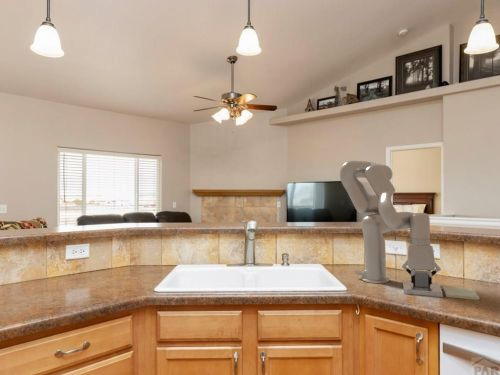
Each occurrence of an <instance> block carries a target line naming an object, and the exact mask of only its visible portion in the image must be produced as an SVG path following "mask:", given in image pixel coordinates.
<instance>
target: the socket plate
mask: <svg viewBox="0 0 500 375" xmlns="http://www.w3.org/2000/svg"><path fill="white" fill-rule="evenodd" d="M402 287H403V289H402V290H403V294H404V295H414V296H424V297H437V298H443V289H442V288H441V286H440V284H439V282H432V284H430V287H429V288H417V287H415V286H413V283H411V280H402Z"/></svg>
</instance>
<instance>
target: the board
mask: <svg viewBox="0 0 500 375" xmlns="http://www.w3.org/2000/svg"><path fill="white" fill-rule="evenodd" d="M442 291H443V292H444V294H445V297H446V298H452V299H453V298H455V299H463V300H464V299H465V300H474V301H475V300H476V301H480V296H479V294H478V293H477V292H476V291H475V290H474V288H466V287H455V286H454V287H453V286H442Z"/></svg>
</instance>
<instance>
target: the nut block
mask: <svg viewBox="0 0 500 375" xmlns="http://www.w3.org/2000/svg"><path fill="white" fill-rule="evenodd" d="M414 275H415V287H417V288H429V284H428V271H427V270H415V272H414Z"/></svg>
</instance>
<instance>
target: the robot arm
mask: <svg viewBox="0 0 500 375" xmlns="http://www.w3.org/2000/svg"><path fill="white" fill-rule="evenodd" d="M392 177H393V170H392V169H391V167H390V166H389V165H386V164H381V163H376V162H371V161H367V160H365V161H363V160H349V161H345V162H344V163H343V164H342V166H341V167H340V171H339V178H340V179H339V180H340V181H341V184H342V186H343V188H344V189H345V191H346V193H347V194H348V196H349V198H350V200H351V202H352V204H353V206H354V208H355V210H356V212H358V213H359V214H361V215H366V216H364V217H363V218H362V220H361V223H360V224H361V225H360V226H361V230H362V231H361V232H362V235H363V251H364V252H363V253H364V254H363V255H364V269H362V270H355V272H354V274H355V275H357V276H361V281H363V282H365V283H369V284H388V283H389V282H391V281H390V280H391V278H389V277H387V269H386V268H387V266H386V265H387V262H386V260H387V259H386V242H385V238H384V235H383V234H385V233H391V231H393V230H394V231H398V230H399V231H400V230H407V229H409V235H410V238H406V243H409V244H408V248H407V260H406V261H404V263H403V264H402V266H401V268H402V269H403V270H405V271H406V272H407V274H409V275H410V278H411V280H410V281H411V283H413V286H415V275H414V272H415V270H420V271H427V272H428V284H429V287H430V284H432V283H433V276H434V275H436V274H437V273H438V272H440V271H441V267H440V266H439V265H438V263H436V261H435V252H434V248H433V246H432V245H431V227H430V225H431V224H430V215H429V214H428V213H425V212H411V211H410V212H409V211H397V210H396V208H395V206H394V205H393V202H392V197H393V195H394V194H395V193H396V188H395V187H394V185H393V184H392V182H391V179H392ZM358 178H359V179H360V178H361V179H362V178H364V179H366V181H367V182H368V183H369V185H370V187H371V188H372V189H371V190H373V192H374V194H369V193H368V191H367V189H366V187H365V186H364V184H363V183H362V182H361V181H360V180H359V179H358Z"/></svg>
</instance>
